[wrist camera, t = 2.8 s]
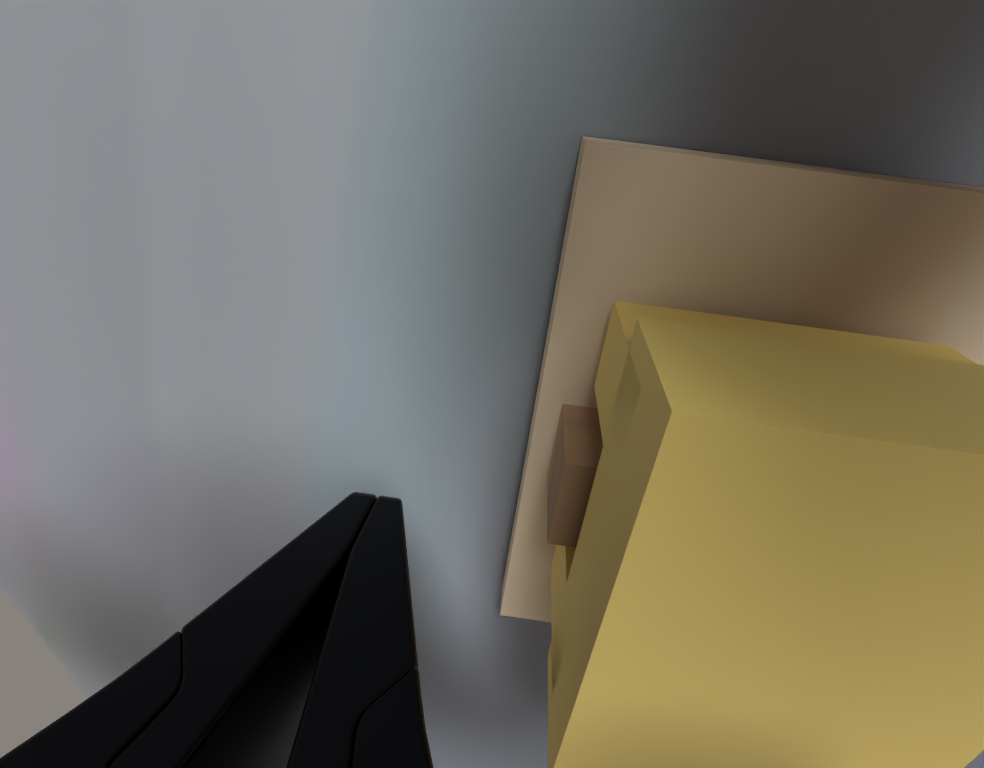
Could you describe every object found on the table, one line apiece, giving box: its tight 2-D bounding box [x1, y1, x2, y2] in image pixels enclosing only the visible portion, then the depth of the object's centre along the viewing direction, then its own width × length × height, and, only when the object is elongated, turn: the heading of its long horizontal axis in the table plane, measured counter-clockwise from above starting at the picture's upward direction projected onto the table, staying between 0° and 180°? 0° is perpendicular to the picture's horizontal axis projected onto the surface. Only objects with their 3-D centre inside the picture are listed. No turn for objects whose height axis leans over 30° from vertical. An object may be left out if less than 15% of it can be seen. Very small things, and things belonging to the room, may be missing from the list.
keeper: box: [548, 300, 984, 768], centre depth 9 cm, size 6×8×4 cm
